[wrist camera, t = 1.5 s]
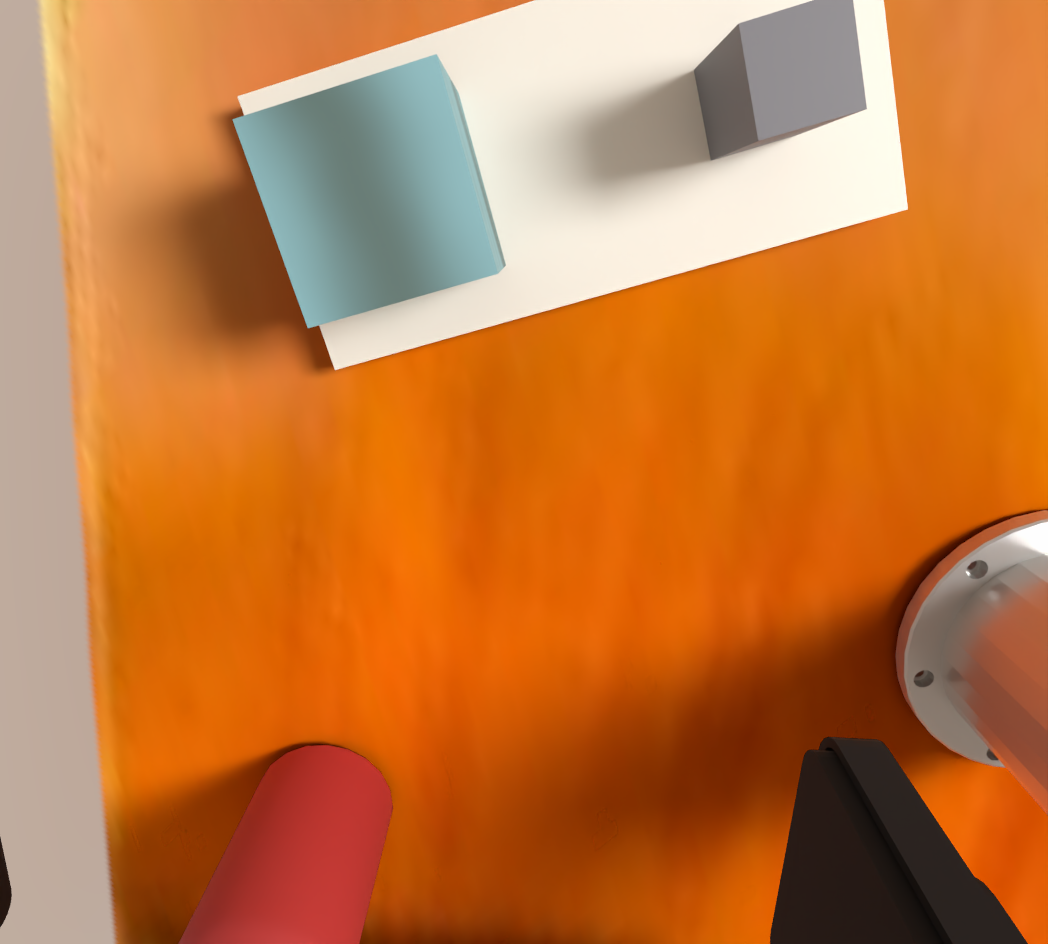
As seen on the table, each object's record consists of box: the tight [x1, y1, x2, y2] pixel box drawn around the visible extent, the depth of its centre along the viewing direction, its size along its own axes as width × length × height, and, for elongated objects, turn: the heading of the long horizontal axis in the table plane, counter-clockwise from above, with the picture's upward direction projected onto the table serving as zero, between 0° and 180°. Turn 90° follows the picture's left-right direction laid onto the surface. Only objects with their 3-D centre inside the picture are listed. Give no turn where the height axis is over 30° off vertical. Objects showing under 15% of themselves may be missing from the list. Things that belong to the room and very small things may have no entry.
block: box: [232, 54, 506, 328], centre depth 24 cm, size 6×6×6 cm
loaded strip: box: [238, 0, 908, 370], centre depth 24 cm, size 22×10×7 cm, turn 106°
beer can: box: [179, 745, 393, 944], centre depth 31 cm, size 7×7×12 cm
